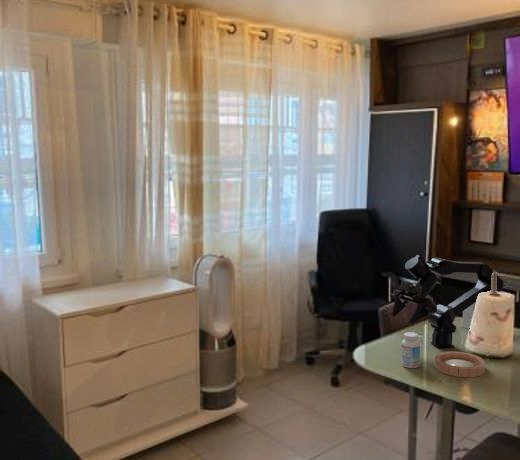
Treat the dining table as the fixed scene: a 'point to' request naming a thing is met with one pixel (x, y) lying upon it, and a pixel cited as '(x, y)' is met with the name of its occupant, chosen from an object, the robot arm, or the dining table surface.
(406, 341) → the pill bottle
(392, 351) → the dining table surface
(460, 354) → the round dish
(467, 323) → the skincare box
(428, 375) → the dining table surface
